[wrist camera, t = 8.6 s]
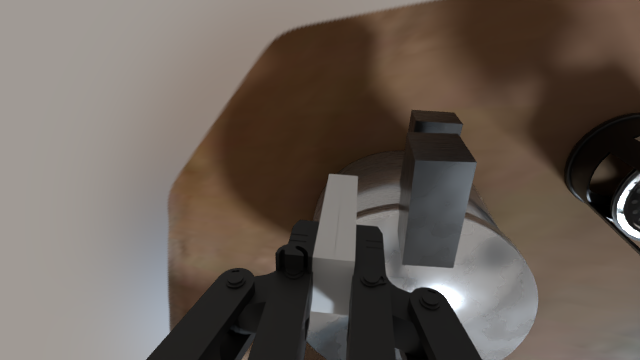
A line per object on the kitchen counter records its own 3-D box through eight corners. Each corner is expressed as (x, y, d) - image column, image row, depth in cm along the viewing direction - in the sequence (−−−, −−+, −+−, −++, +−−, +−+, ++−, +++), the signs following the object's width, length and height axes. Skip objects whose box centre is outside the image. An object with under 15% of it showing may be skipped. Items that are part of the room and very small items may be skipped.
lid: (498, 379, 32) (518, 436, 28) (298, 359, 34) (289, 410, 30) (593, 131, 21) (652, 168, 16) (281, 124, 23) (262, 155, 18)
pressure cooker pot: (454, 317, 43) (476, 399, 35) (311, 300, 45) (298, 376, 36) (526, 95, 30) (593, 138, 21) (318, 82, 31) (300, 117, 22)
